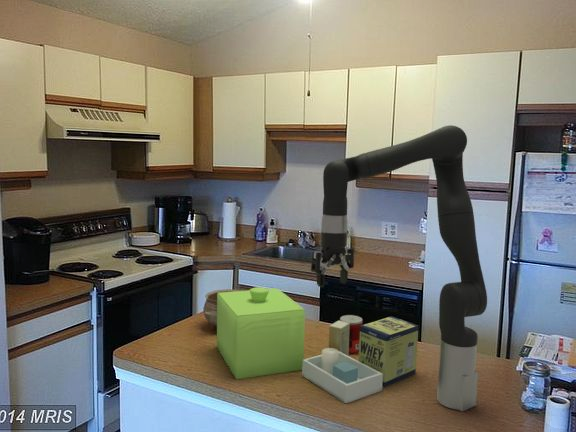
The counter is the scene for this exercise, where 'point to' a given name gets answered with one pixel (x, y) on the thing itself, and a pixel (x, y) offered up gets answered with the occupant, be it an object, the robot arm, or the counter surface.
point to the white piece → (329, 359)
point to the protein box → (389, 348)
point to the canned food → (353, 332)
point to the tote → (364, 386)
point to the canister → (260, 332)
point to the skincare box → (339, 336)
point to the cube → (345, 372)
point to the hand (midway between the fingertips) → (332, 284)
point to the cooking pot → (213, 305)
